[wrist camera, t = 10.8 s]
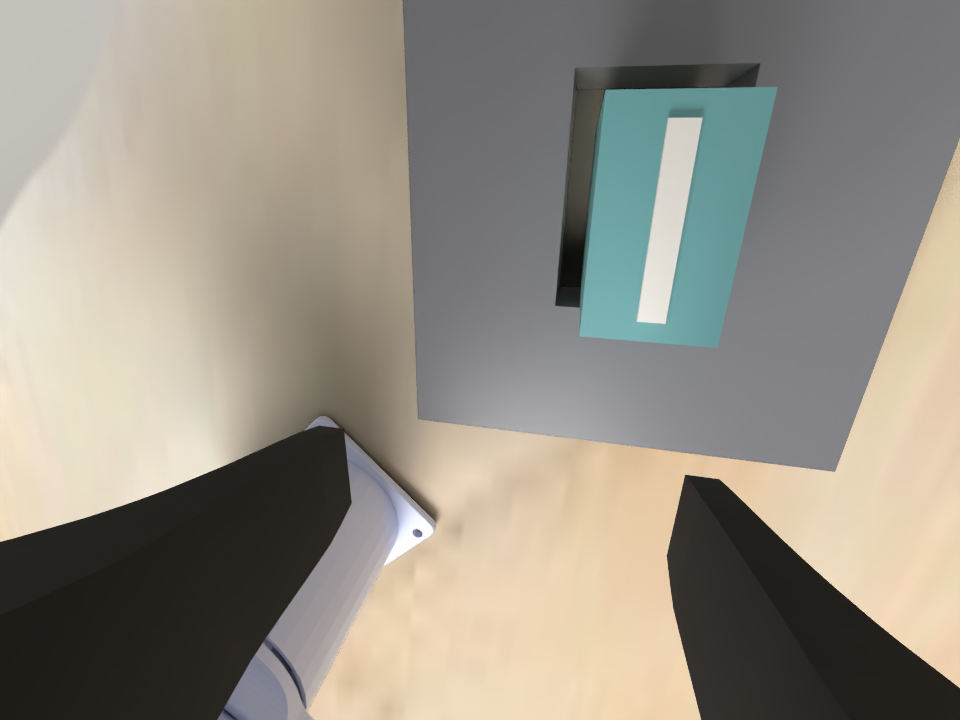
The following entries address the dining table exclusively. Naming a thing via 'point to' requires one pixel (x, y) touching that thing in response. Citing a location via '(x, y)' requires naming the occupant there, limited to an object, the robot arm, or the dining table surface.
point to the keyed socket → (768, 233)
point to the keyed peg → (669, 210)
